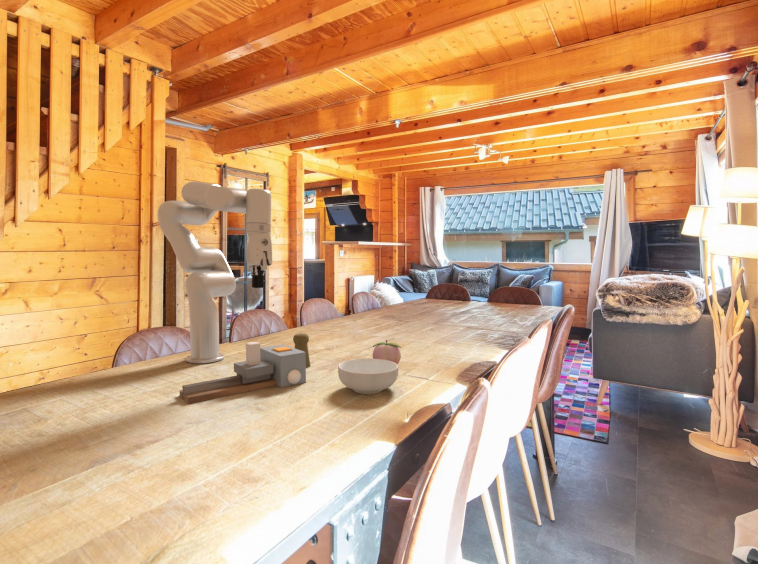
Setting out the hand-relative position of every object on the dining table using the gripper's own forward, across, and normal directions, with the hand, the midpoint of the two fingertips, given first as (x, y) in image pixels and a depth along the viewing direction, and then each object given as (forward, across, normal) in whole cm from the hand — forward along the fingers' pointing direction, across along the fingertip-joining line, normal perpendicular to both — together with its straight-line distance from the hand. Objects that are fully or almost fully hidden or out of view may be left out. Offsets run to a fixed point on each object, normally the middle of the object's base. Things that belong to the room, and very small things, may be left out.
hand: (257, 287), depth 136 cm
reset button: (+21, -13, -2) cm, 25 cm away
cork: (+27, -4, -14) cm, 31 cm away
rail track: (+27, -14, +14) cm, 33 cm away
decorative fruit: (+26, -25, -33) cm, 49 cm away
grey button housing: (+26, -14, -2) cm, 30 cm away
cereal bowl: (+26, -38, -16) cm, 48 cm away
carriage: (+25, -14, +7) cm, 29 cm away
